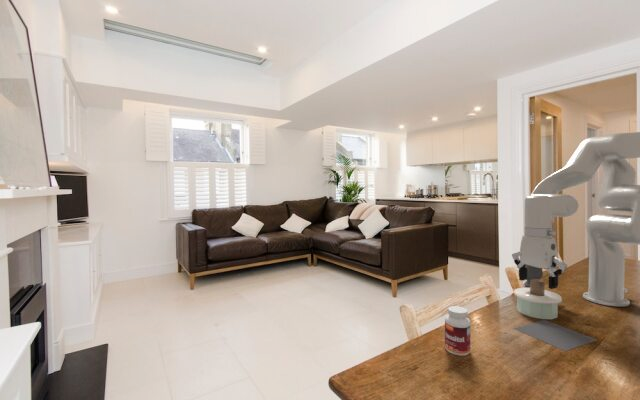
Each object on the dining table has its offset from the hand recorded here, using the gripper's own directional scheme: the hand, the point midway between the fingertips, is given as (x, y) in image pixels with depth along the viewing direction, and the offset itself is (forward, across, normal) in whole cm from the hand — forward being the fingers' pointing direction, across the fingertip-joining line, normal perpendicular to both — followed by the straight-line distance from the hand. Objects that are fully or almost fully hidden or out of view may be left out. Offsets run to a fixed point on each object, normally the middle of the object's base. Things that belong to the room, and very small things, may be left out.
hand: (537, 283), depth 104 cm
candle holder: (+10, +10, -13) cm, 19 cm away
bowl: (+10, 0, 0) cm, 10 cm away
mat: (+10, -12, +11) cm, 19 cm away
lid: (+4, 0, 0) cm, 4 cm away
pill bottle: (+10, -7, +42) cm, 44 cm away
